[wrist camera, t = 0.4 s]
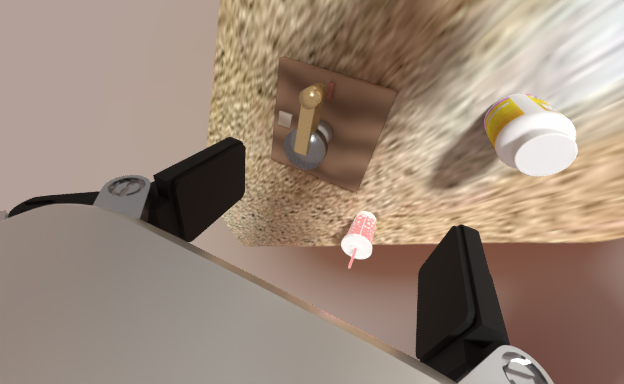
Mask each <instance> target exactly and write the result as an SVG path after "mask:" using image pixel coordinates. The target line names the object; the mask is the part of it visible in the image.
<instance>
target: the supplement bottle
mask: <svg viewBox="0 0 624 384" xmlns="http://www.w3.org/2000/svg"><path fill="white" fill-rule="evenodd" d="M484 129H485V132H486V134H487V136H488V138H489V140H490V142H491V144H492V146H493V148H494V150H495V152H496V154H497V156H498V157H499V159H500V160H501V161H502V162H503V163H505V164H506V165H508V166H510V167H513V168H516V169H518V170H519V171H521V172H522V173H524V174H526V175H530V176H548V175H552V174H555V173H557V172H560V171H562V170H564V169H565V168H566V167H568V166H569V165H570V164H571V163H572V162H573V161H574V159H575V158H576V156H577V151H578V149H577V145H576V143H575V138H576V130H575V127H574V125H573V123H572V122H571V121H570V120H569V119H568V118H566V117H565V116H564V115H562V114H561V113H559V112H558V111H556V110H555V109H554V108H552V107H551V106H550V105H548V104H547V103H546V102H544V101H543V100H541V99H540V98H538V97H536V96H534V95H531V94H526V93H519V94H513V95H509V96H507V97H504V98H502V99H500V100H499V101H497V102H496V103H495V104H494V105H493V106H492V107H491V108H490V109H489V110H488V112H487V113H486V115H485V118H484Z"/></svg>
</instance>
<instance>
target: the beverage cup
mask: <svg viewBox="0 0 624 384" xmlns="http://www.w3.org/2000/svg"><path fill="white" fill-rule="evenodd" d="M375 225H376V218H375V216H374V215H373V214H372V213H370V212H366V211H361V212H359V213H357V215H356V217H355V219H354V221H353V223H352V225H351V227H350V229H349V231H348V232H347V234H346V236H344V238H343V240H342V242H341V247H342V249H343V251H344V252H345V253H346V254H347V255H349V256H351V260H350V263H349V266H348V269H350V268H351V265H352V262H353V259H354V258H357V259H365V258H368V257H369V256H370V255H371V253H372V241H373V236H374V231H375Z"/></svg>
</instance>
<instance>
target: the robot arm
mask: <svg viewBox="0 0 624 384" xmlns="http://www.w3.org/2000/svg"><path fill="white" fill-rule="evenodd" d="M153 176H154V180H155V181H154V182H152V183H151V182H150V181H149V180H148V179H147V178H145V177H142V176H138V175H129V176H122V177H118V178H115V179H113V180H111V181H109V182H107V183H106V184H105V185H104V186H103V188H102V189H101V191H100V192H87V193H74V194H62V195H50V196H41V197H35V198H32V199H29V200H27V201H25V202H23V203H21V204H19V205H17V206H16V207H14V208H13V209H12V210H11V211H10V213H9V214H8V213H7V212H6V211H0V384H554V383H553V382H552V380H551V379H550V377H549V376H548V374H547V373H546V372H545V370H544V369H543V368H542V367H541V366H540V365H539V364H538V363H537V362H536V361H535V360H534V359H533V358H532V357H530V356H529V355H528V354H526V353H525V352H523V351H522V350H520V349H518V348H515V347H513V346H510V343H509V339H508V336H507V332H506V328H505V324H504V321H503V317H502V313H501V310H500V306H499V302H498V298H497V295H496V291H495V287H494V284H493V280H492V277H491V275H490V273H489V269H488V265H487V262H486V258H485V254H484V250H483V246H482V243H481V239H480V235H479V232H478V231H477V230H475V229H472V228H470V227H467V226H464V225H459V226H458V227H456V226H453V227H452V228H451V229H450V230H449V231H448V233H447V234H446V235H445V237H444V238H443V239H442V241H441V242H440V243H439V244H438V246H437V247H436V249H435V250H434V251H433V252H432V254H431V255H430V256H429V257H428V259H427V260H426V261H425V263H424V264H423V265H422V267H421V268H420V271H419V277H418V301H417V302H418V303H417V329H416V330H417V331H416V357H417V358H418V359H420V361H418V360H416V359H414V358H413V357H410V356H409V355H407V354H405V353H403V352H401V351H399V350H397V349H396V348H394V347H392V346H390V345H388V344H386V343H384V342H382V341H381V340H379V339H377V338H375V337H373V336H371V335H369V334H367V333H365V332H363V331H361V330H359V329H357V328H356V327H354V326H352V325H350V324H348V323H346V322H344V321H342V320H340V319H338V318H336V317H334V316H332V315H330V314H328V313H326V312H324V311H322V310H320V309H318V308H317V307H314V306H313V305H311V304H309V303H307V302H305V301H303V300H301V299H299V298H297V297H295V296H293V295H291V294H289V293H287V292H285V291H283V290H281V289H279V288H277V287H275V286H273V285H271V284H269V283H267V282H265V281H264V280H262V279H260V278H258V277H256V276H254V275H252V274H250V273H248V272H246V271H244V270H242V269H240V268H238V267H236V266H234V265H232V264H230V263H228V262H226V261H224V260H222V259H220V258H218V257H216V256H214V255H212V254H210V253H208V252H206V251H204V250H202V249H200V248H198V247H196V246H194V245H192V244H190V243H188V242H191V241H193V240H194V239H195V238H196V237H197V236H199V235H200V234H201V233H202V232H203V231H204V230H206V229H207V228H208V227H209V226H210V225H211V224H212V223H214V222H215V221H216V220H217V219H218V218H219V217H220V216H222V215H223V214H224V213H225V212H226V211H227V210H228V209H230V208H231V207H232V206H233V205H234V204H235V203H237V202H238V201H239V200H240V199H241V198H242V197H243V195H244V193H245V146H244V145H243V143H242V141H240V140H237V139H234V138H232V137H228V138H226V139H224V140H222V141H220V142H218V143H216V144H214V145H212V146H210V147H208V148H206V149H204V150H203V151H200V152H198V153H196V154H195V155H193V156H191V157H189V158H187V159H185V160H183V161H181V162H179V163H177V164H175V165H173V166H171V167H169V168H167V169H165V170H163V171H161V172H159V173H157V174H155V175H153Z"/></svg>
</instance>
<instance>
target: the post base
mask: <svg viewBox="0 0 624 384" xmlns="http://www.w3.org/2000/svg"><path fill="white" fill-rule="evenodd" d="M315 83H322V84H324V85H325V86H326V88H327V91H328V94H327V98H326V99H325V100H324V102H323V107H322V111H321V116H320V121H319V126H318V129H319V130H320V131H321V132H322V133H323V134H324V136H325V137H326V140H327V143H328V152H327V155H326V157H325V158H324V159H323V160H322V162H321V163H320V164H319V165H318V166H317V167H316V168H314V169H311V170H304V169H300V168H298V167H296V166H295V165H293V164H292V163H291V162H290V161H289V160H288V158H287V156H286V154H285V151H284V140H285V138H286V136H287V135H288V134H289V133H290V132H291V131H293V130H294V129H295V128H297V127H298V122H299V115H300V109H301V104H300V102H299V95H300V92H301V91H302V90H304V89H306V88H308V87H310V86H311V85H313V84H315ZM396 93H397V91H396V90H393V89H390V88H386V87H383V86H380V85H377V84H373V83H370V82H367V81H363V80H360V79H357V78H353V77H350V76H347V75H343V74H340V73H337V72H334V71H330V70H327V69H324V68H320V67H317V66H314V65H310V64H307V63H304V62H301V61H297V60H294V59H291V58H287V57H280V58H279V70H278V82H277V95H276V107H275V119H274V131H273V143H272V155H271V159H274V160H276V161H279V162H281V163H284V164H286V165H289V166H291V167H294V168H296V169H299V170H301V171H304V172H306V173H309V174H311V175H314V176H316V177H319V178H321V179H324V180H326V181H329V182H331V183H334V184H336V185H339V186H341V187H344V188H346V189H349V190H351V191H354V192H356V193H357V191H358V189H359V186H360V184H361V181H362V179H363V176H364V174H365V171H366V169H367V166H368V164H369V161H370V159H371V156H372V154H373V151H374V149H375V146H376V143H377V141H378V138H379V136H380V133H381V131H382V128H383V126H384V123H385V121H386V118H387V116H388V113H389V111H390V108H391V106H392V103H393V101H394V98H395V96H396Z"/></svg>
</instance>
